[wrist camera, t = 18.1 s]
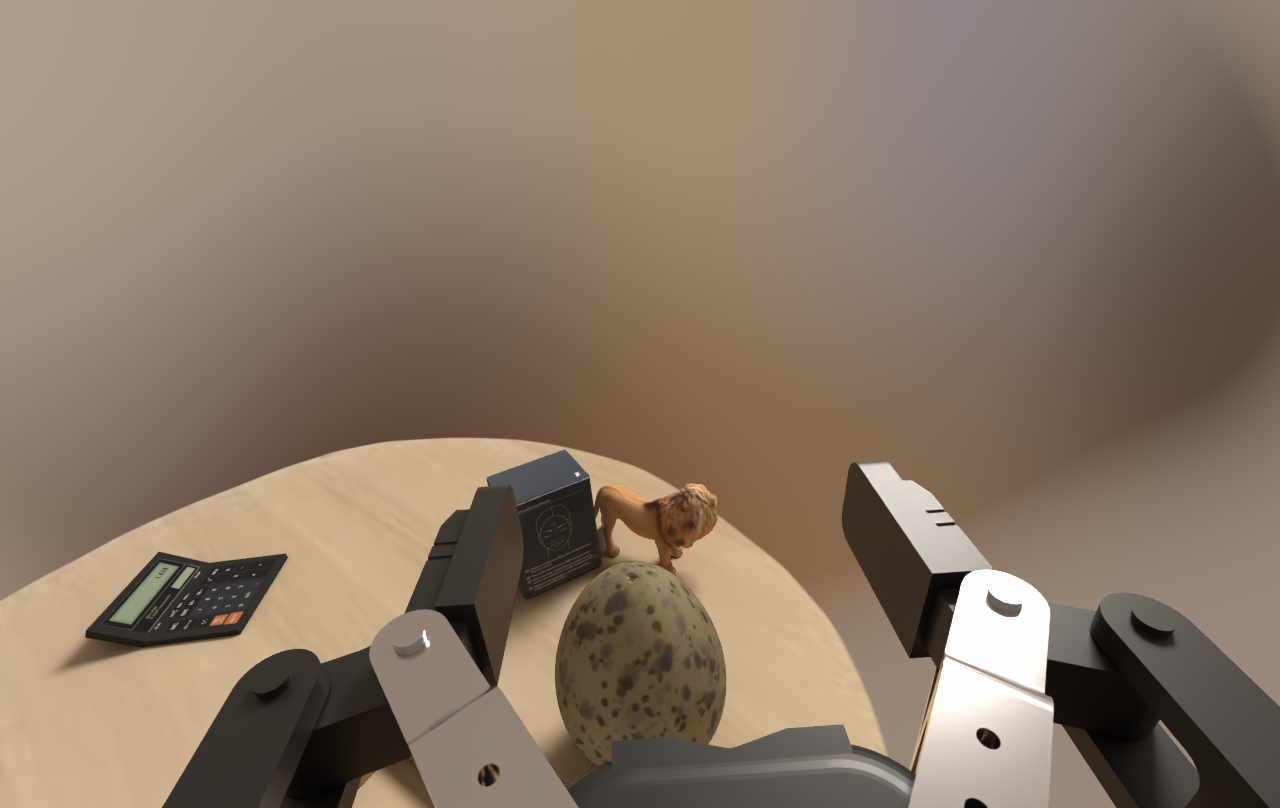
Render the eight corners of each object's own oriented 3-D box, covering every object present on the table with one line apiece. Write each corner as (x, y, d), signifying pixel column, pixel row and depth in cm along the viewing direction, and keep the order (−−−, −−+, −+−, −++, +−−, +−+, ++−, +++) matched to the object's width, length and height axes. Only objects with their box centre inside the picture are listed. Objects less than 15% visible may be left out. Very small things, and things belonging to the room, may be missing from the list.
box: (578, 533, 57) (566, 447, 52) (602, 566, 53) (592, 476, 48) (504, 563, 54) (484, 474, 49) (524, 602, 49) (504, 509, 44)
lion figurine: (724, 551, 54) (726, 475, 49) (707, 590, 49) (708, 511, 45) (590, 517, 59) (582, 447, 55) (565, 550, 55) (554, 477, 51)
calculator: (241, 636, 48) (227, 612, 47) (99, 655, 47) (80, 631, 46) (288, 559, 56) (278, 537, 55) (168, 574, 55) (154, 552, 54)
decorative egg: (581, 664, 44) (557, 515, 36) (719, 667, 43) (722, 515, 36) (554, 819, 34) (514, 658, 27) (730, 827, 33) (737, 663, 26)
